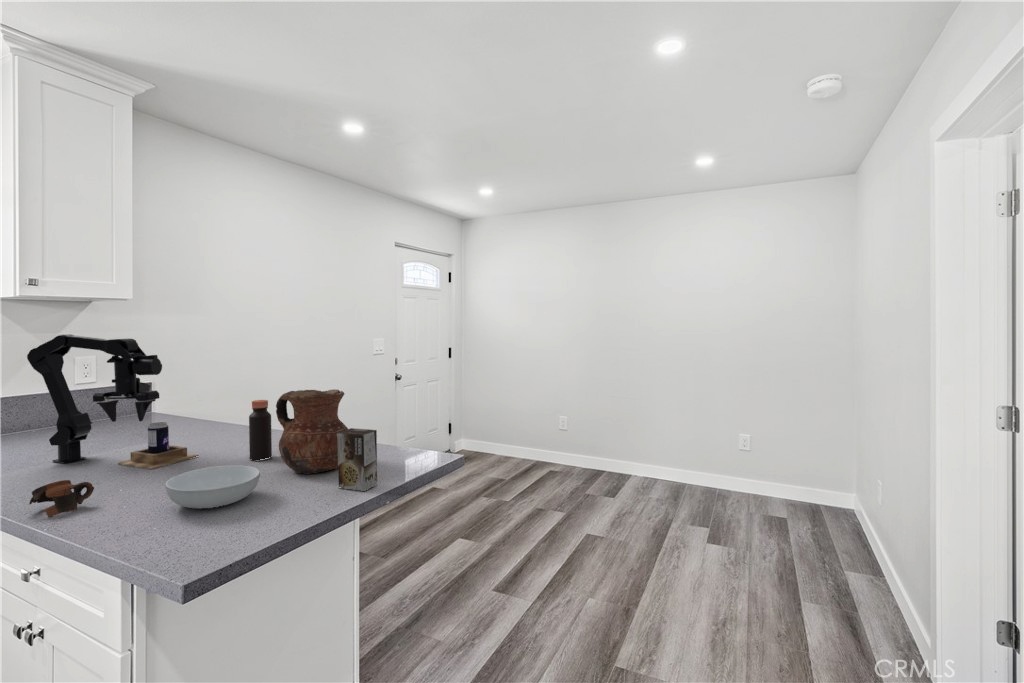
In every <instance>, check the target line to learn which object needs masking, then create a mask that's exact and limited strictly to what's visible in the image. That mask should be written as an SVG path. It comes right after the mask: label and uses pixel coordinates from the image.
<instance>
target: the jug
mask: <svg viewBox="0 0 1024 683" xmlns="http://www.w3.org/2000/svg"><path fill="white" fill-rule="evenodd" d="M344 395H345V392H344V391H343V390H339V389H329V390H324V391H322V390H318V389H304V390H301V389H299V390H290V391H288V392H285V393H282V395H281V396H279V398H278V400H277V401H276V404H275V407H276V410H275V412H276V418H277V420H278V422H279V424H280V425H281V426H282V428H283V432H282V433H281V436H280V438H279V440H278V441H279V442H278V451H279V454H280V457H281V459H282V461H283V462H284V464H285V465H286V466H287V467H288V468H289V469H291V470H292V471H294V472H295V473H296V472H297V474H301V473H314V474H317V473H316V472H322V473H324V472H323V471H327V472H329V471H328V470H331V471H333V470H332V469H334V470H336V469H338V468H337V467H338V436H337V433H339V432H342V431H344V430H347V429H349V428H348V427H347V426H346V425H345V424H344V423H343V422H342V421H341V420H340V419H339V415H338V414H339V405H340V402H341V401H342V399H343V397H344ZM288 402H289V403H290V405H291V406H292V409H293V418H289V415H288V409H287V408H288V407H287V406H288ZM335 468H336V469H335Z"/></svg>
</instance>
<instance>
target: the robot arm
mask: <svg viewBox="0 0 1024 683" xmlns="http://www.w3.org/2000/svg"><path fill="white" fill-rule="evenodd" d="M71 348H78V349H84V350H85V349H86V350H95V351H101V352H104V353H105V354H109V355H112V356H111V357H110V358H109V359H107V360H106V363H107V364H109V363H111V364H112V363H113V364H114V365H113V367H114V378H113V379H111V383H114V388H115V390H113V391H112V390H111V391H108V390H107V391H105V390H104V391H100V392H96V393H94V394H93V395H92V402H94V403H96V405H99V406H100V407H101V408H102V410H103V411H104V412H105V414H106V415H107V416H108V417H109V420H110V421H111V422H112V423H113V422H116V421H117V404H119V400H124V399H127V400H130V399H132V400H134V399H135V400H136V401H135V402H134V404H135V409H136V410H135V411H136V414H137V418H138V421H139V422H144V419H145V415H146V413H147V411H148V408H149V406H150V405H151V404H152V403H153V402H156V401H157V399H160V392H158V390H150V389H151V386H152V385H151V384H148V383H145V382H142V381H141V379H140V377H137V375H138V376H158V375H160V373H161V372H162V369H163V363H162V362H161V360H160V359H159V357H158V355H157V354H151V355H147V354H146V353H145V352H144V350H142V349H141V347H140V346H139V344H138V342H137V340H136V339H134V338H112V339H111V338H110V339H109V338H108V339H107V338H100V337H91V336H90V337H89V336H80V335H74V334H58V335H57V336H55V337H53V338H52V339H50V340H48V341H47V342H44V343H42V344H40V345H39V346H37V347H34V348H32V349H30V350H29V352H28V354H27V355H26V359H27V361H28V362H29V364H30V366H31V368H32V369H33V370H34V371H36V372H38V373H39V374H40V375H41V376H42V378H43V381H44V383H45V386H46V387H47V390H48V393H49V395H50V398H51V400H52V403H53V406H54V407H55V410H56V413H57V414H58V416H57V420H56V425H55V426H56V430H57V431H56V432H55V433H54V434H53V435H52V436H51V437H50V438H49V440H48V441H49V443H50V445H51V446H57V458H56V459H52V462H53V463H57V464H58V463H59V464H68V462H69V463H73V462H76V460H78V461H81V460H80V459H82V460H85V459H84V458H86V459H87V457H86V456H82V451H81V449H82V448H81V447H82V446H81V441H84V440H86V439H87V438H88V435H89V434H90V432H91V430H92V424H93V422H92V421H91V419H90V415H89V413H88V412H83V413H82V412H81V411H80V410H78V407H77V405H76V403H75V400H74V398H73V395H72V393H71V391H70V387H69V386H68V383H67V381H66V378H65V376H64V373H63V367H64V362H65V361H64V357H65V355H67V354H68V353H69V352H70V351H71ZM72 461H73V462H72Z"/></svg>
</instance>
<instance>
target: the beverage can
mask: <svg viewBox="0 0 1024 683" xmlns="http://www.w3.org/2000/svg"><path fill="white" fill-rule="evenodd" d="M169 437H170V435H169V425H168V422H165V421H162V422H161V421H159V422H151V423H149V424H148V427H147V449H148V453H150V454H158V453H162V452H166V451H169V445H170V440H169Z"/></svg>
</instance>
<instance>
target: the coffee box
mask: <svg viewBox="0 0 1024 683" xmlns="http://www.w3.org/2000/svg"><path fill="white" fill-rule="evenodd" d="M337 436H338V468H337V469H338V470H337V471H338V474H337V475H338V476H337V477H338V479H337V480H338V488H339V487H341V488H346V489H354V490H353V491H355V490H361V491H360V492H363V491H365V492H367V491H369V490H370V489H369V488H371V487H373V486H375V485H377V486H378V455H377V454H378V449H377V448H378V446H377V444H378V443H377V442H378V441H377V437H378V436H377V429H365V428H355V427H354V428H348V429H347V430H344V431H342V432H339V433H337ZM375 487H376V486H375ZM373 488H374V487H373ZM346 489H345V490H346ZM368 489H369V490H368ZM371 489H372V488H371ZM366 490H367V491H366Z"/></svg>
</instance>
